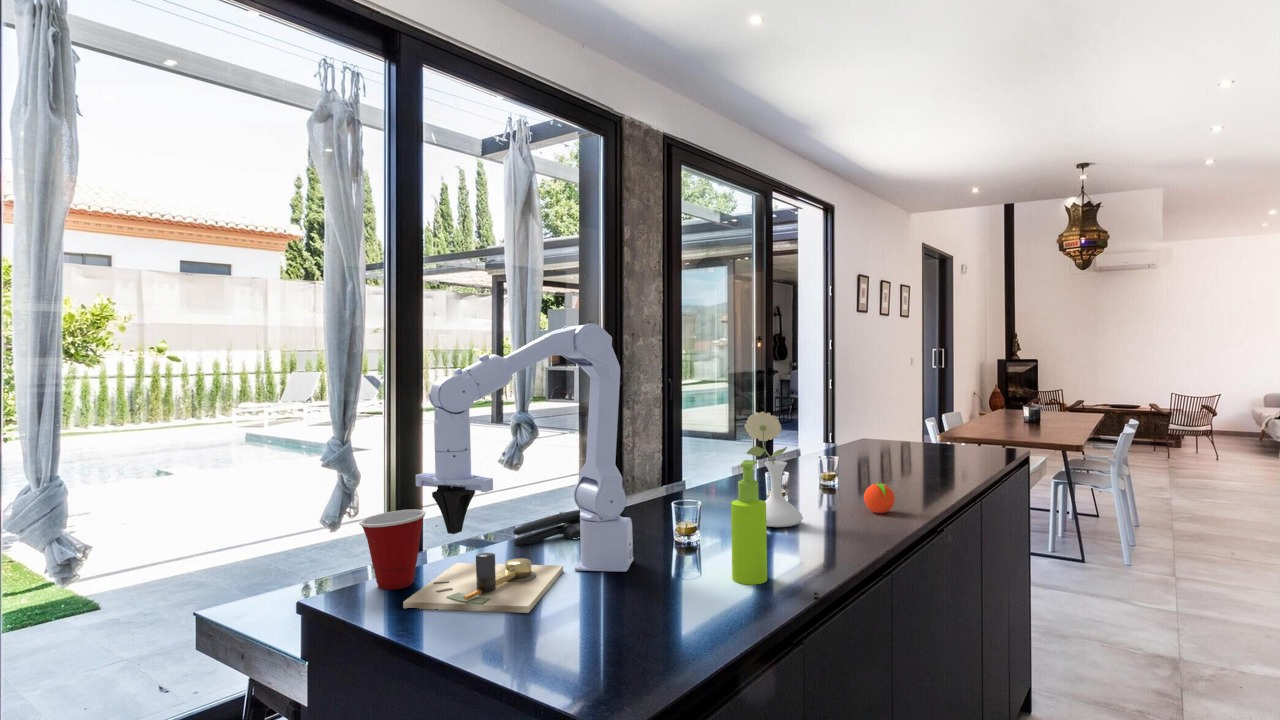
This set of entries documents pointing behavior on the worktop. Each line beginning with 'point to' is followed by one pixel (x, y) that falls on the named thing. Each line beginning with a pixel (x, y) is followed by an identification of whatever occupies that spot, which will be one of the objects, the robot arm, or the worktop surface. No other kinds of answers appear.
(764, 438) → the flower in vase
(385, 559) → the plastic cup
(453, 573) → the dial board
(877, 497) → the clementine
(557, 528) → the can opener
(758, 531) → the soap dispenser
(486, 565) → the lever
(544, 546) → the worktop surface
